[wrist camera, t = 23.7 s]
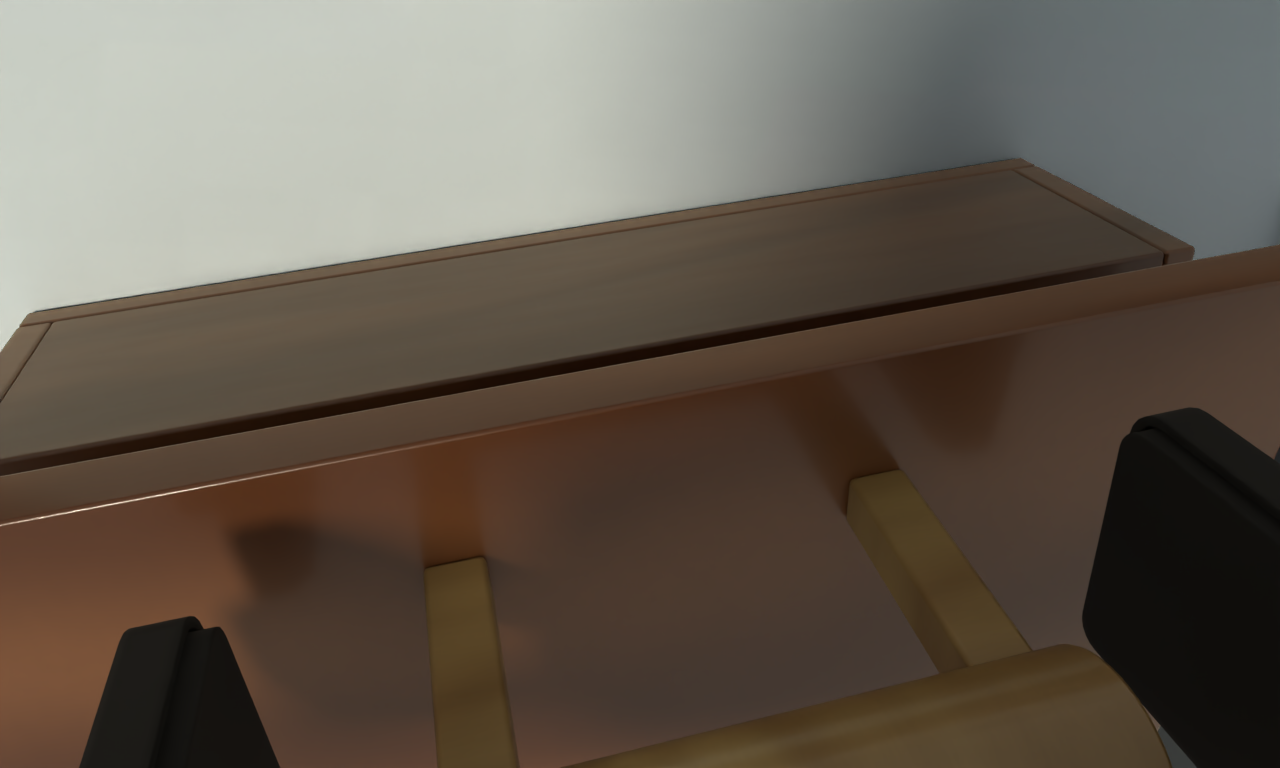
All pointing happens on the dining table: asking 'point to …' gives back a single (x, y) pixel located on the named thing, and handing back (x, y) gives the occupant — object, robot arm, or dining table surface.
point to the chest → (543, 307)
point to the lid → (663, 547)
